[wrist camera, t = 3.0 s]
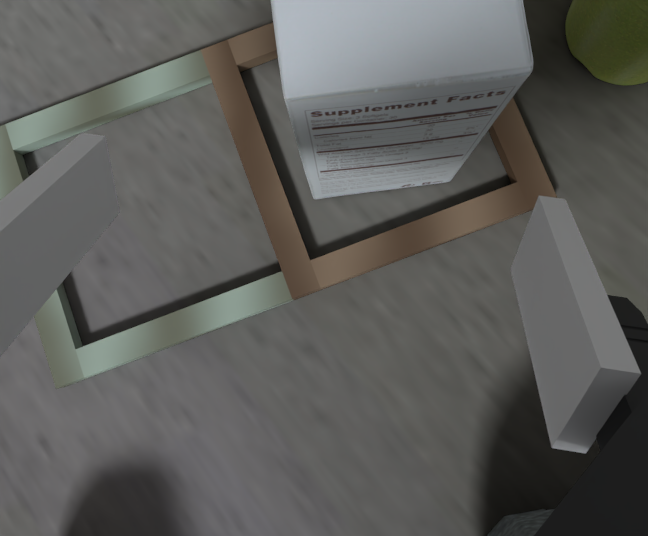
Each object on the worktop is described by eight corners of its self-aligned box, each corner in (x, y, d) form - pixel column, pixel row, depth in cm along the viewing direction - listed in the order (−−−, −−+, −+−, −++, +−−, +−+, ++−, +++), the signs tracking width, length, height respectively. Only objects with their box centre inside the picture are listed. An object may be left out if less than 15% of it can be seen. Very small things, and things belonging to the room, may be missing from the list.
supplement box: (295, 69, 28) (253, -138, 16) (434, 52, 28) (505, -172, 15) (309, 204, 27) (277, 100, 15) (453, 187, 27) (544, 68, 14)
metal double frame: (447, -35, 28) (450, -46, 28) (551, 202, 27) (557, 198, 26) (-12, 139, 29) (-22, 134, 28) (64, 387, 27) (56, 388, 26)
